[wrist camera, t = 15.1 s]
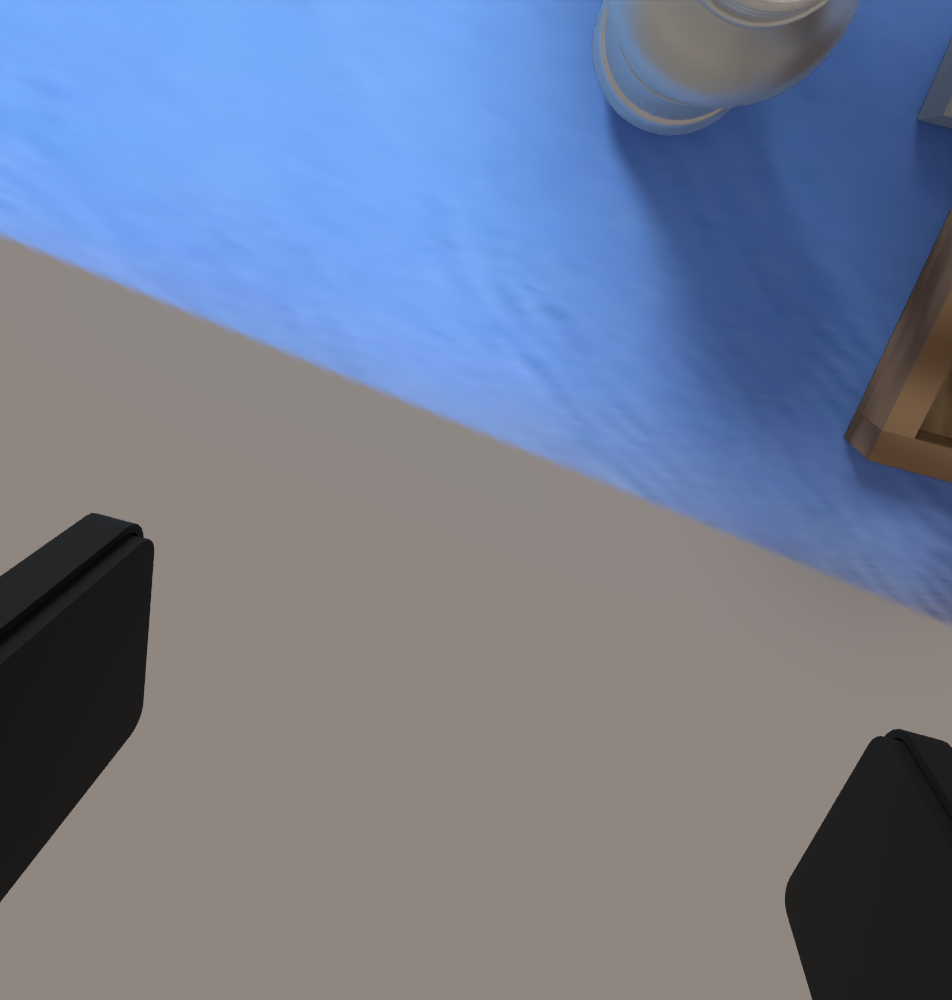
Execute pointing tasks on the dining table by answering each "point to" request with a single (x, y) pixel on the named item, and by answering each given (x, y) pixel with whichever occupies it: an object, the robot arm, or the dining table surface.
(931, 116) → the grey square frame
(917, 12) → the dining table surface
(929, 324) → the walnut holder
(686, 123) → the pale grey bottle
